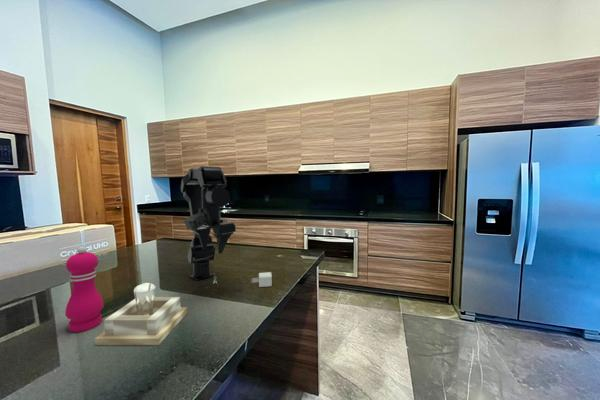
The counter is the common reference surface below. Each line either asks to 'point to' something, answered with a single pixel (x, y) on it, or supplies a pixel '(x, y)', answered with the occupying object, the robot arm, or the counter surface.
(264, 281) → the usb wall charger
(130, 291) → the counter surface
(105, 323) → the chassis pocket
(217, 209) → the robot arm
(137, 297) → the milkshake
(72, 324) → the pepper mill
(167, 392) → the counter surface
